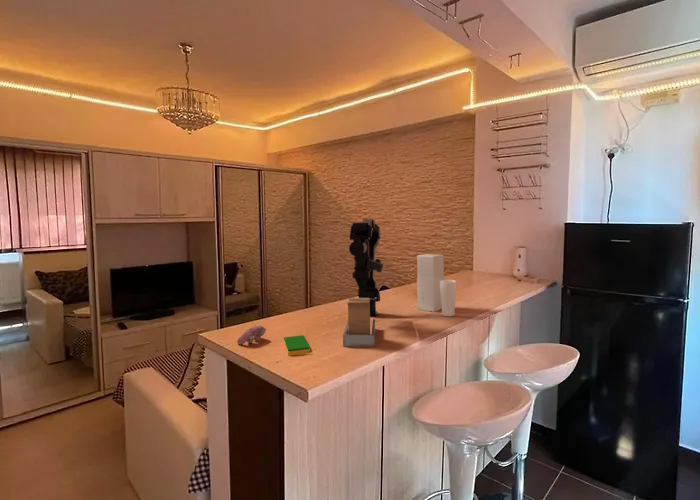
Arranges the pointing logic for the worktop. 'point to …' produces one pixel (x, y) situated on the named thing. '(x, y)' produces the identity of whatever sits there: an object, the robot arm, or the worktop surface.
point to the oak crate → (359, 315)
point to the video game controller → (251, 334)
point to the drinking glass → (448, 297)
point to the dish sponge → (296, 345)
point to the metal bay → (358, 338)
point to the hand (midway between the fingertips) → (362, 292)
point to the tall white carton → (429, 281)
